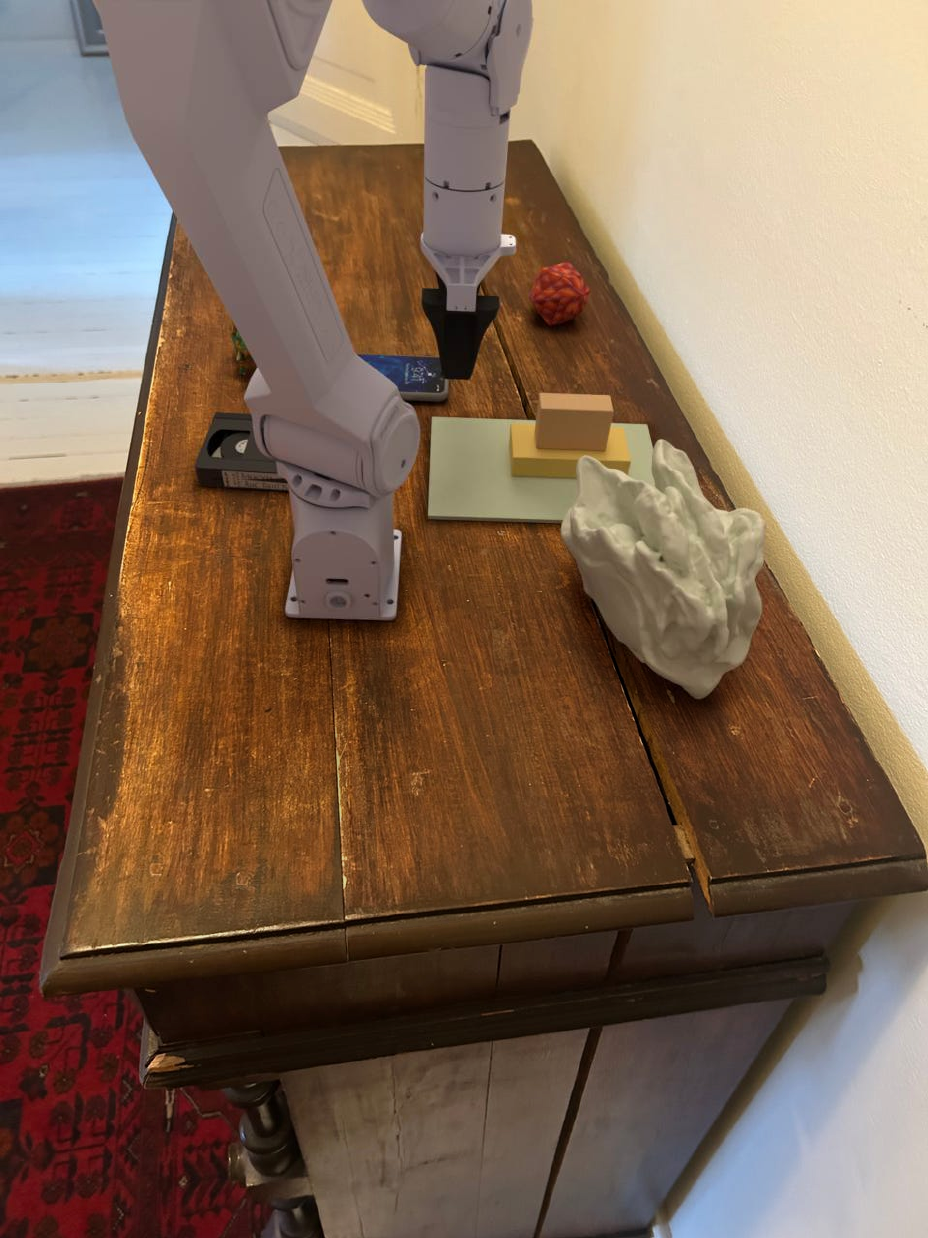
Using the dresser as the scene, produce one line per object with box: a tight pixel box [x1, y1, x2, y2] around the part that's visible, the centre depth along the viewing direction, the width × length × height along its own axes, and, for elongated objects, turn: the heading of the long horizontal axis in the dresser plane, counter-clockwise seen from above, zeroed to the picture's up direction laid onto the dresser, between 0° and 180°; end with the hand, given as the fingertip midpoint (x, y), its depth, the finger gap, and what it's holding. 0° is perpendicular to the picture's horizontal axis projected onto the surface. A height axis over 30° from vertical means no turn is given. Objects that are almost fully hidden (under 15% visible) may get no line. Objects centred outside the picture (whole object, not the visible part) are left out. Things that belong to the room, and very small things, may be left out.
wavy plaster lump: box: [560, 438, 767, 700], centre depth 60 cm, size 18×13×16 cm
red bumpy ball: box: [528, 261, 591, 327], centre depth 92 cm, size 6×7×8 cm
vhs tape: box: [194, 411, 289, 492], centre depth 74 cm, size 14×8×2 cm, turn 88°
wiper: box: [509, 392, 631, 478], centre depth 74 cm, size 5×10×6 cm, turn 90°
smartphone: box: [356, 353, 450, 402], centre depth 84 cm, size 7×1×15 cm
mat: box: [427, 416, 655, 524], centre depth 76 cm, size 14×20×1 cm
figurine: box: [229, 318, 257, 376], centre depth 83 cm, size 3×12×8 cm, turn 9°
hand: (457, 351), depth 71 cm, fingers open, 7 cm apart
